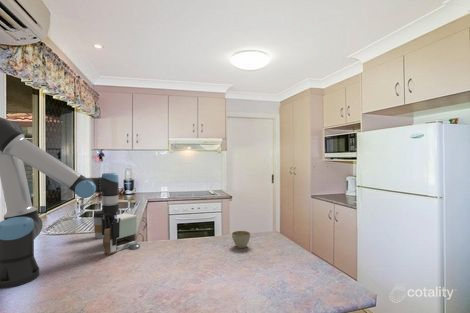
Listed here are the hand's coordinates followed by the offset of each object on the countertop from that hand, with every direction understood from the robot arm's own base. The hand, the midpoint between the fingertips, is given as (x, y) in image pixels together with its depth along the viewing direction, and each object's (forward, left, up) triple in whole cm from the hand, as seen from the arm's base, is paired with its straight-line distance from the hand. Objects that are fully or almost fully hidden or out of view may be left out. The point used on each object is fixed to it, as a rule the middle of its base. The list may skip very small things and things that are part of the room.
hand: (110, 250), depth 131 cm
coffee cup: (+12, +29, -2) cm, 31 cm away
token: (+12, -3, -2) cm, 12 cm away
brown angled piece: (+7, 0, -1) cm, 7 cm away
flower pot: (+45, -49, -2) cm, 66 cm away
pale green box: (+12, +10, -1) cm, 15 cm away
